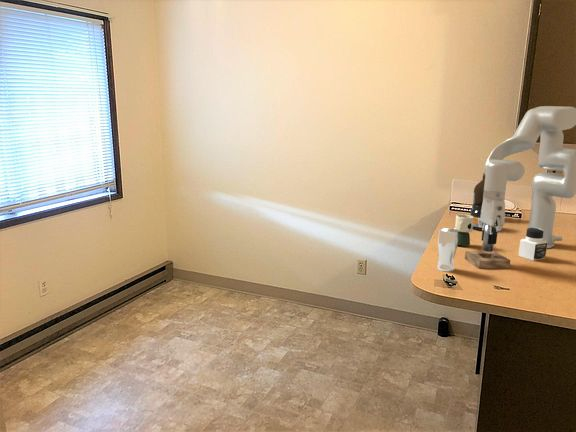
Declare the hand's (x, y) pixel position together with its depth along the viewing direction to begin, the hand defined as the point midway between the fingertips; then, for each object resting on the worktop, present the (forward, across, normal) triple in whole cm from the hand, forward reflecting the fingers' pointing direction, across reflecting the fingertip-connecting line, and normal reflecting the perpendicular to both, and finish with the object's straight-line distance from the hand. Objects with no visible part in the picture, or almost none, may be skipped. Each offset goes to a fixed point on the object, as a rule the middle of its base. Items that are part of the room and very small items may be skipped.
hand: (488, 241), depth 190 cm
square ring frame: (+9, 0, 0) cm, 9 cm away
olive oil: (+8, +71, -33) cm, 79 cm away
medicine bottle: (+9, +6, -22) cm, 25 cm away
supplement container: (+9, +52, -23) cm, 58 cm away
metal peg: (+3, 0, 0) cm, 3 cm away
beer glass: (+9, -6, +19) cm, 22 cm away
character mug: (+9, +24, -1) cm, 26 cm away
